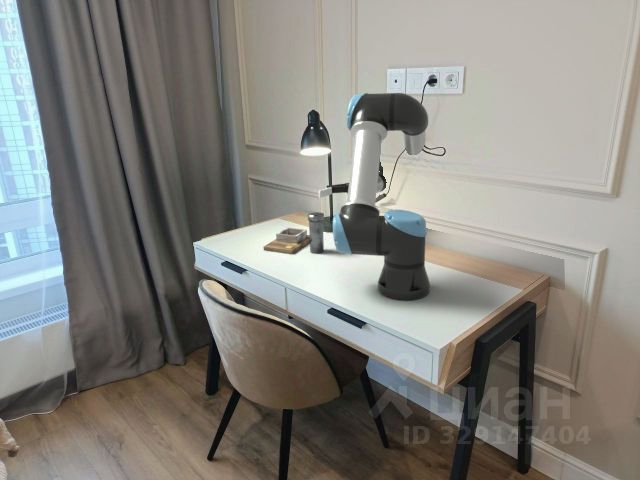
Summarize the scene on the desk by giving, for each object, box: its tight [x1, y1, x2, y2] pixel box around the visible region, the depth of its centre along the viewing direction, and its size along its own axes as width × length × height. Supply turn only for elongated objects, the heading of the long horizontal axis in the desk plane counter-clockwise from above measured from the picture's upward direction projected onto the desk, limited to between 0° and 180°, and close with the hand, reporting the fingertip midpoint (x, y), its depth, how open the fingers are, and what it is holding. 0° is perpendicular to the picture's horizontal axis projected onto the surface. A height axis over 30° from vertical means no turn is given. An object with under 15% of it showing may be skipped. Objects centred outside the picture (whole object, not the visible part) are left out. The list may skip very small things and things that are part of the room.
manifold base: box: [263, 227, 310, 255], centre depth 182 cm, size 18×12×4 cm, turn 155°
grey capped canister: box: [307, 211, 325, 255], centre depth 173 cm, size 6×6×14 cm
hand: (332, 197), depth 175 cm, fingers open, 13 cm apart
